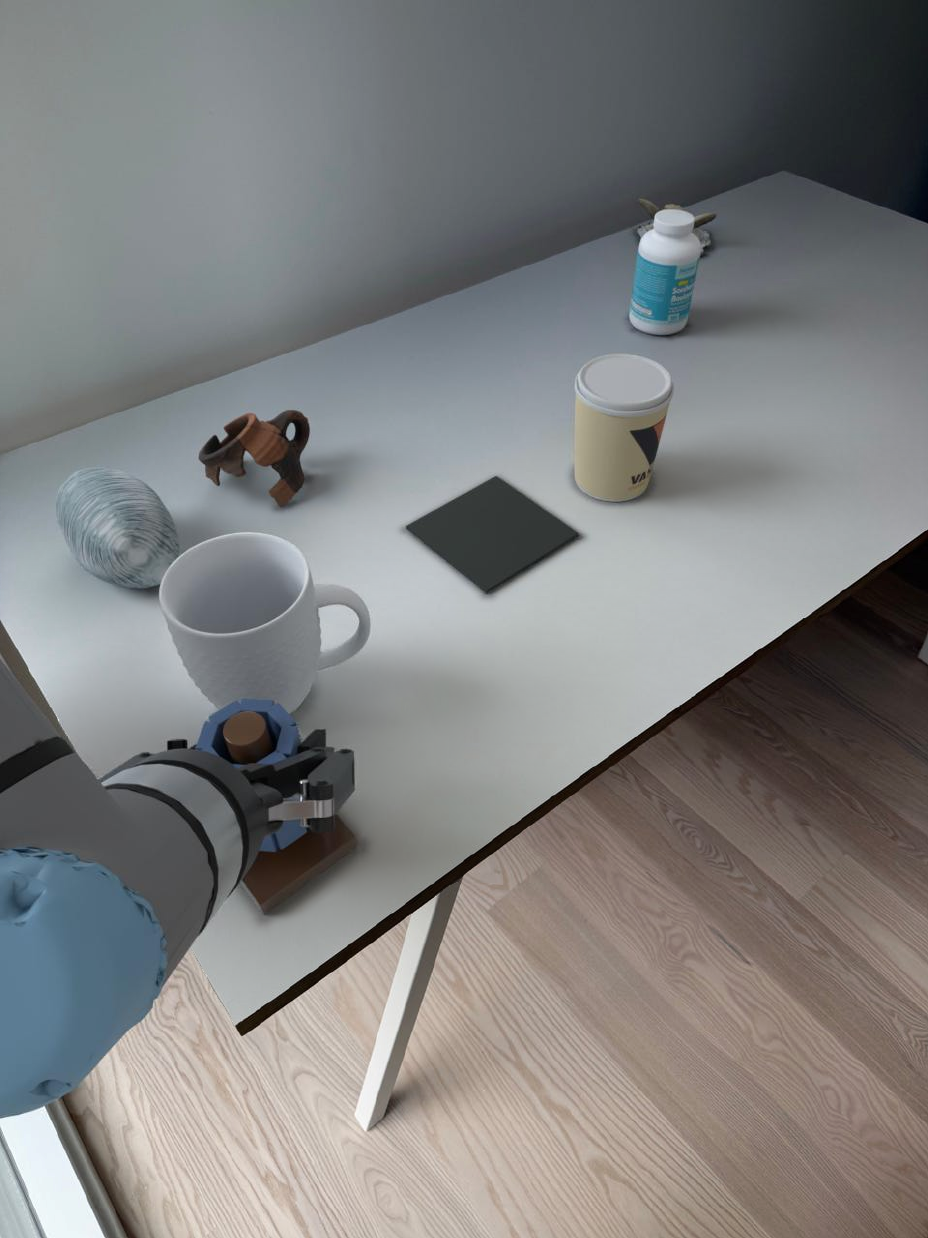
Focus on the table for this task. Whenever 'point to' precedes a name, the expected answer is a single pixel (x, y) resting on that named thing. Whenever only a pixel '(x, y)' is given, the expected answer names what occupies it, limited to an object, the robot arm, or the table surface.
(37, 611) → the table surface
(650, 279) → the pill bottle
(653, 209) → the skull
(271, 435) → the brown looped piece
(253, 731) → the dowel stand
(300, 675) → the mug
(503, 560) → the mat
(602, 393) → the cream lidded canister
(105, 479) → the streaked grey ellipsoid
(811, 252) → the table surface
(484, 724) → the table surface
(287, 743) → the sleeve
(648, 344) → the table surface
